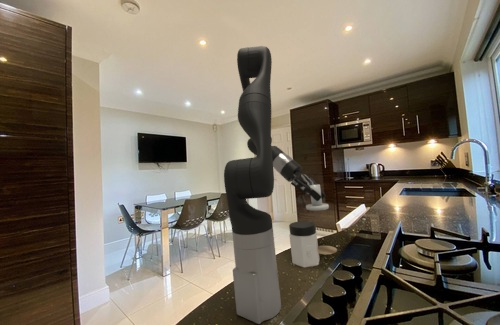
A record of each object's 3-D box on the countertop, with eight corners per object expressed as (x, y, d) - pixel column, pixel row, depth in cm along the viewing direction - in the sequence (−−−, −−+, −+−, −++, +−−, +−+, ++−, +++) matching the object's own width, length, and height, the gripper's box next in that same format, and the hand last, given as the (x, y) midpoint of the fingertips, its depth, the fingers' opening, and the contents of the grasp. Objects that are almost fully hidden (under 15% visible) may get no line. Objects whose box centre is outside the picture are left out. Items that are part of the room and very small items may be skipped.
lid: (324, 210, 67) (321, 185, 68) (302, 210, 72) (300, 186, 73) (331, 206, 73) (329, 183, 74) (311, 206, 78) (308, 184, 78)
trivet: (333, 257, 67) (332, 255, 67) (309, 253, 72) (309, 252, 72) (340, 248, 74) (339, 247, 74) (317, 245, 78) (317, 244, 79)
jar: (297, 270, 61) (292, 229, 62) (288, 259, 69) (284, 223, 70) (325, 265, 62) (321, 225, 63) (314, 255, 70) (309, 219, 71)
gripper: (283, 159, 73) (321, 193, 65) (300, 159, 84) (335, 188, 76) (271, 175, 76) (307, 209, 67) (290, 173, 87) (322, 202, 79)
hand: (321, 198), depth 72 cm, fingers closed on lid, 3 cm apart
